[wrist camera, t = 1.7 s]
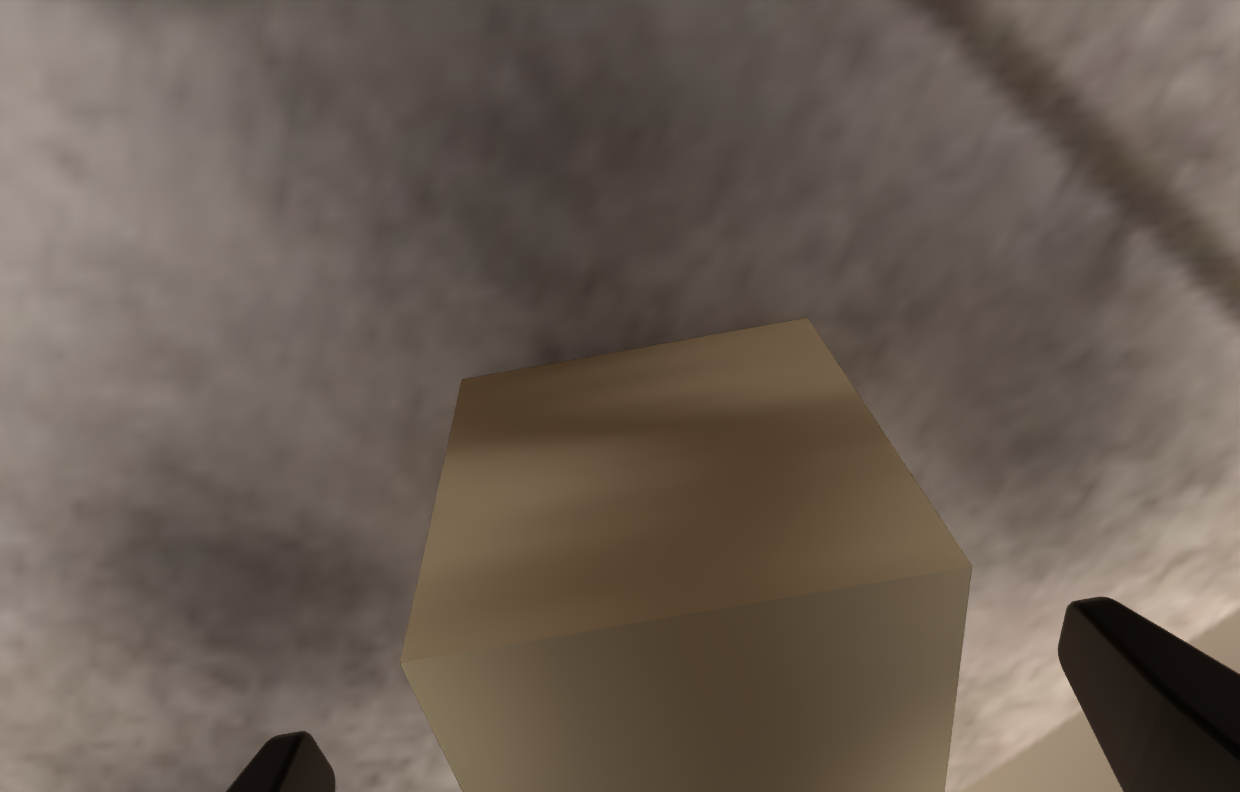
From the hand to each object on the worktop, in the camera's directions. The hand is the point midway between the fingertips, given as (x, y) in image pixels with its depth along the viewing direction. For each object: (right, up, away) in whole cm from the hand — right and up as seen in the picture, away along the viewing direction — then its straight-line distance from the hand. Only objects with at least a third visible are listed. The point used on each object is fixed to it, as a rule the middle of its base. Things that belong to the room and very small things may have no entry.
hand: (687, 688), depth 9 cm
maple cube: (0, +2, +3) cm, 4 cm away
